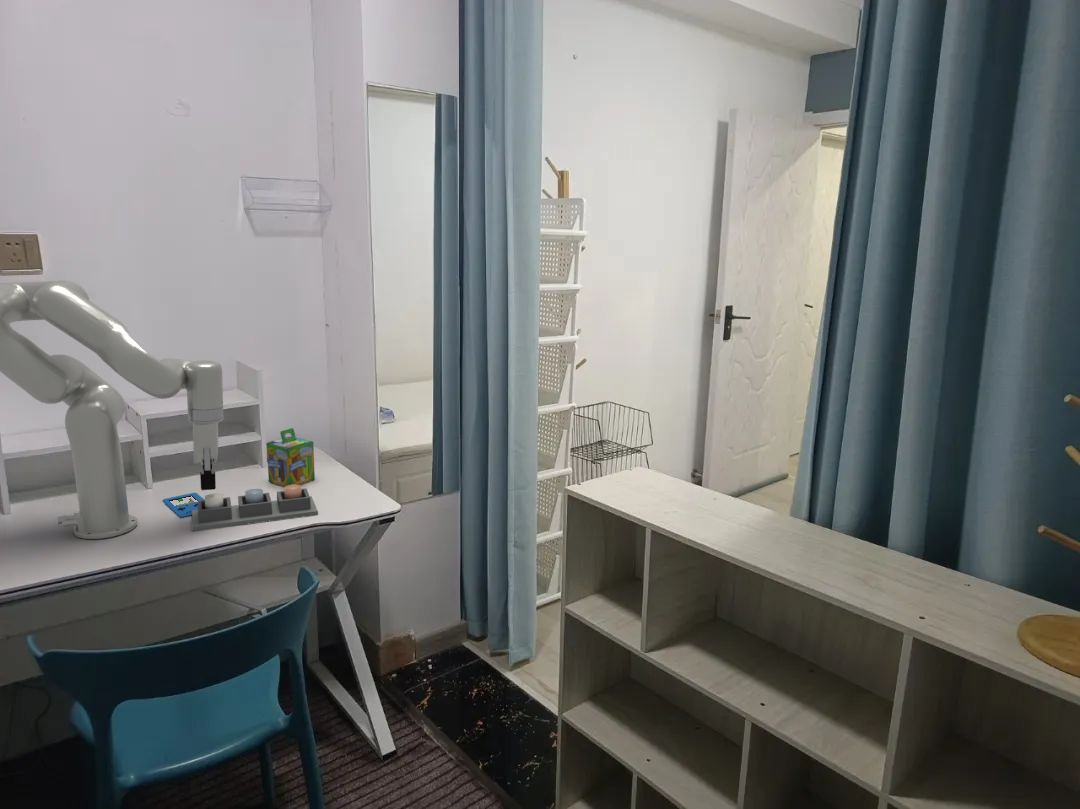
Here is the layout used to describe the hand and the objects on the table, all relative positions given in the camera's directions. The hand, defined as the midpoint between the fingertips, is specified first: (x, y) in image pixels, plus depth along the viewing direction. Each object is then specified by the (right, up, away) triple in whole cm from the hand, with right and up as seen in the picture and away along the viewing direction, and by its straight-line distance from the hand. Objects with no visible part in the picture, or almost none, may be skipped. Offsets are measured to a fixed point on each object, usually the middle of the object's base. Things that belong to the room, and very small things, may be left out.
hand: (208, 488), depth 172 cm
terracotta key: (+17, -4, +8) cm, 20 cm away
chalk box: (+10, -2, +29) cm, 31 cm away
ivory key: (+1, -5, +1) cm, 5 cm away
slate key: (+9, -4, +5) cm, 11 cm away
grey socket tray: (+9, -7, +5) cm, 13 cm away
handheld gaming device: (-10, -6, +10) cm, 15 cm away
